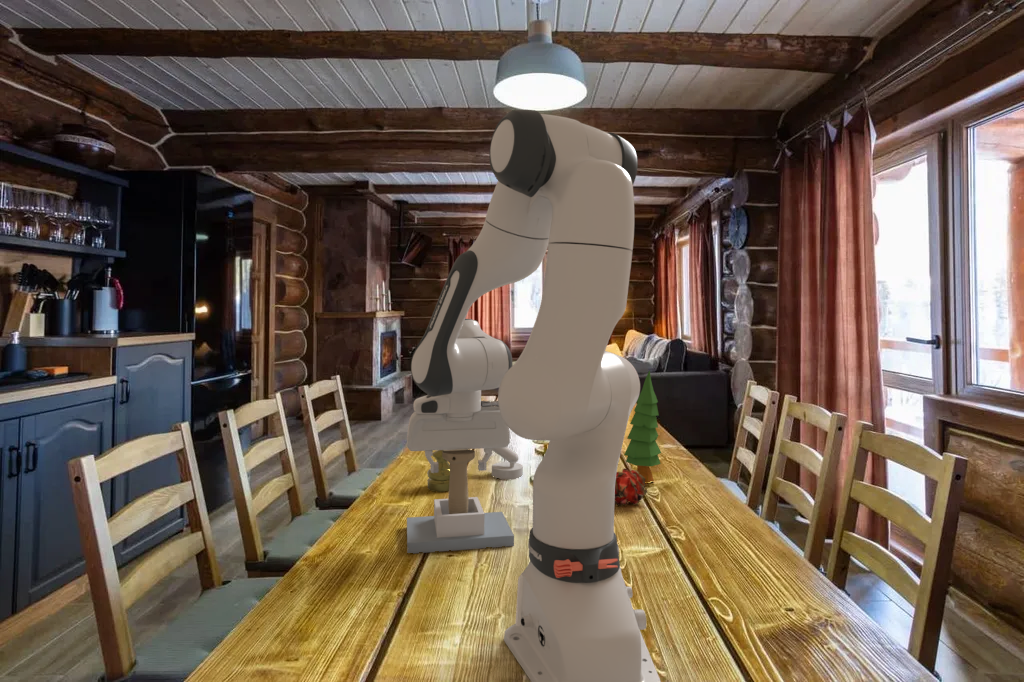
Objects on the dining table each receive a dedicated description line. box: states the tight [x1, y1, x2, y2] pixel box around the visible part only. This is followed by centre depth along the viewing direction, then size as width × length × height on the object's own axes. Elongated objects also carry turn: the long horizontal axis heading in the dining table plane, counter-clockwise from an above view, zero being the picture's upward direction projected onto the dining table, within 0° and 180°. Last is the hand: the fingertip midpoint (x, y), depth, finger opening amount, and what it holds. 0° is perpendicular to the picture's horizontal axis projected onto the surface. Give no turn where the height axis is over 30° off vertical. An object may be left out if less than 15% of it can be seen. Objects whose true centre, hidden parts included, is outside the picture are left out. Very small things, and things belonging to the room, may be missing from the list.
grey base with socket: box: [406, 496, 515, 554], centre depth 109 cm, size 13×20×6 cm, turn 101°
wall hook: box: [491, 446, 524, 480], centre depth 151 cm, size 9×10×10 cm
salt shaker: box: [427, 450, 450, 493], centre depth 139 cm, size 7×7×10 cm
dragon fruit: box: [615, 468, 648, 506], centre depth 129 cm, size 8×8×12 cm
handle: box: [442, 449, 476, 514], centre depth 108 cm, size 5×6×15 cm
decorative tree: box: [623, 370, 662, 482], centre depth 146 cm, size 10×9×30 cm
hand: (458, 471), depth 108 cm, fingers open, 8 cm apart
